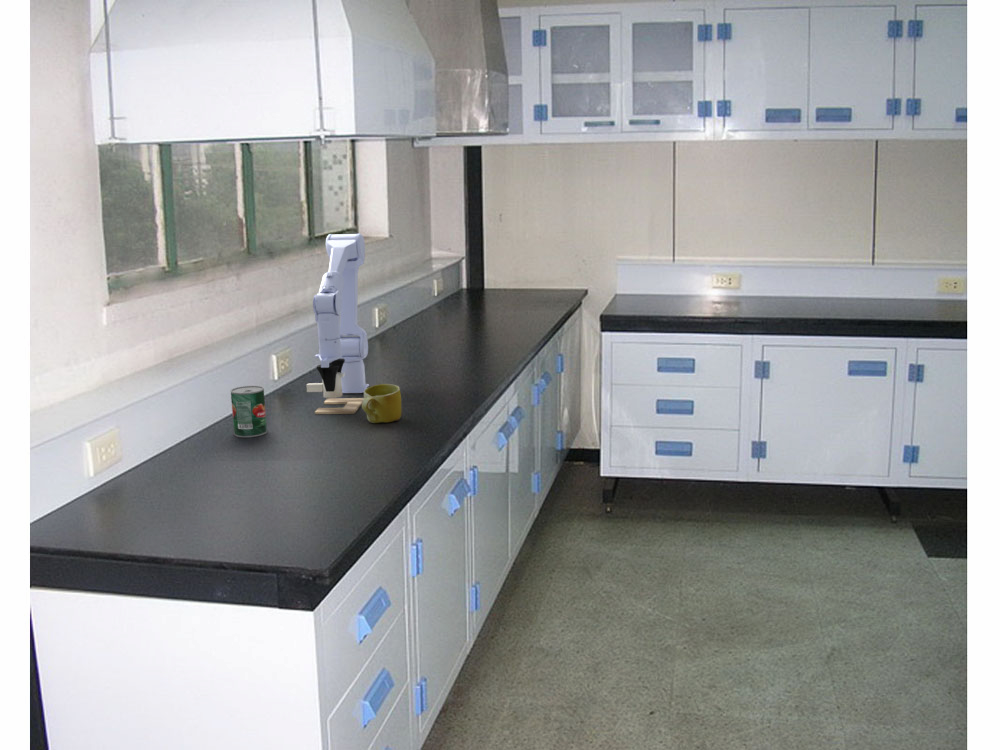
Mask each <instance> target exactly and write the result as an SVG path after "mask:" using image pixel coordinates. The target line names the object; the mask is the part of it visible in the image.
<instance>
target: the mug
mask: <svg viewBox="0 0 1000 750" xmlns="http://www.w3.org/2000/svg"><path fill="white" fill-rule="evenodd" d="M363 398H364V399H363V402H362V405H361V408H362V410H363V412H364V413H365V414H366V419H367V421H368V422H369V423H371V424H379V423H393V422H395V421H399V420H400V419H401V417H402V395H401V389H400V386H399V385H396V384H391V383H382V384H381V383H380V384H374V385H372V386H368V387H367V388H366V389H365V390H364V392H363Z"/></svg>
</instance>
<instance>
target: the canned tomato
mask: <svg viewBox="0 0 1000 750" xmlns="http://www.w3.org/2000/svg"><path fill="white" fill-rule="evenodd" d="M230 398H231V399H230V400H231V412H232V423H233V434H234V436H235V437H237V438H255V437H260V436H263V435H266V434H267V433H268V426H267V414H266V402H265V388H264V387H263V386H260V385H246V386H245V385H244V386H237V387H235V388H232V389H230Z"/></svg>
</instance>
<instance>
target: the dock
mask: <svg viewBox="0 0 1000 750" xmlns="http://www.w3.org/2000/svg"><path fill="white" fill-rule="evenodd" d="M363 399H364V397H358V398H357V397H350V398H347V397H345V398H341V397H338V398H326V399H325V400H324V401H323V405H344V406H343V407H318V408H317V409H316V410H315V411H314V415H339V414H341V415H345V414H346V415H348V414H350V415H351V414H352V415H353V414H355V413H356V412H357V411H358V410H359V409H360V408H361V407H362V402H363Z"/></svg>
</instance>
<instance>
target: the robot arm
mask: <svg viewBox="0 0 1000 750" xmlns="http://www.w3.org/2000/svg"><path fill="white" fill-rule="evenodd" d="M365 244H366V243H365V237H364V236H363V235H362V233H359V232H358V233H345V234H344V233H343V234H335V233H334V234H333V233H329V234H328V235H327V236H326V238H325V250H326V254H327V255H328V256H327V257H328V258H329V265H328V271H326V272H325V273H324V274H323V275H322V278H321V283H320V286H319V290H318V293H317V294H315V295H314V296H313V299H312V308H313V313H314V320H315V322H316V324H317V336H318V337H317V339H318V351H319V352H318V354H315V355H314V358H315V359H319V360H320V361H319V362H320V364H318V365H316V369H317V371H318V374H320V376H321V380H322V379H323V382H322V383H324V386H325V389H326V392H333V391H334V390H335V383H336V374H337V372H340V373H345V376H344V377H341V380H342V394H362V393H363V394H364V390H365V389H367V388H368V387H370V384H369V383H366V373H365V372H366V370H365V362H364V359H366V357H367V356H368V353H369V342H368V334H367V331H366V330H365V329H363V328H362V327H361V326H360V325H358V297H359V296H358V293H359V291H358V289H359V287H358V282H359V281H358V280H359V269H360V267H361V266H363V265H364V264H365V260H366V254H365V253H366V245H365Z"/></svg>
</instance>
